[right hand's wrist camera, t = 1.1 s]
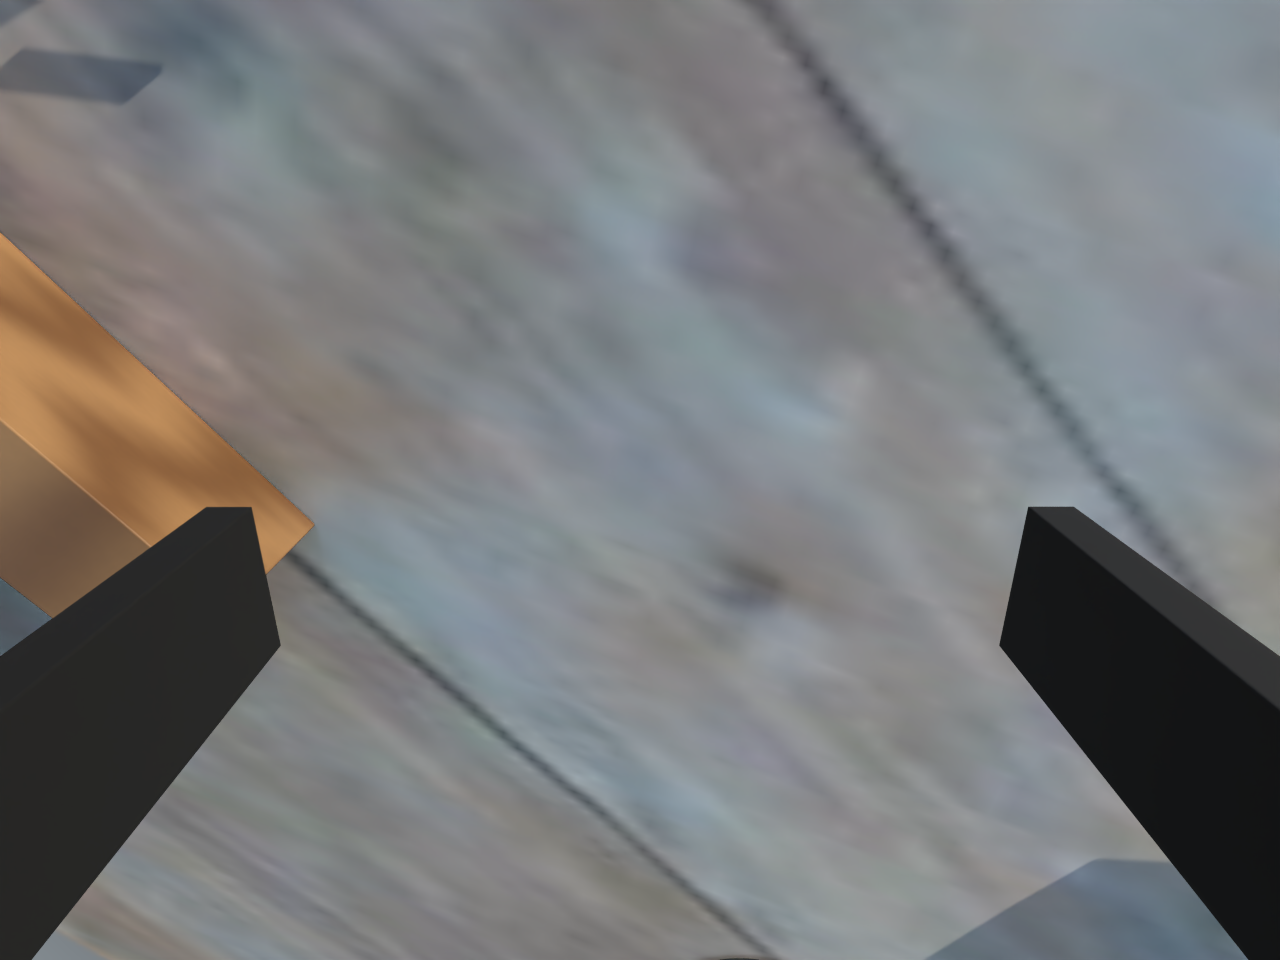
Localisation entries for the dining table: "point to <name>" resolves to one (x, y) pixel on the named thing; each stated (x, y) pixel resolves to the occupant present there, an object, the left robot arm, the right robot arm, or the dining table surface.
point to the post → (101, 451)
